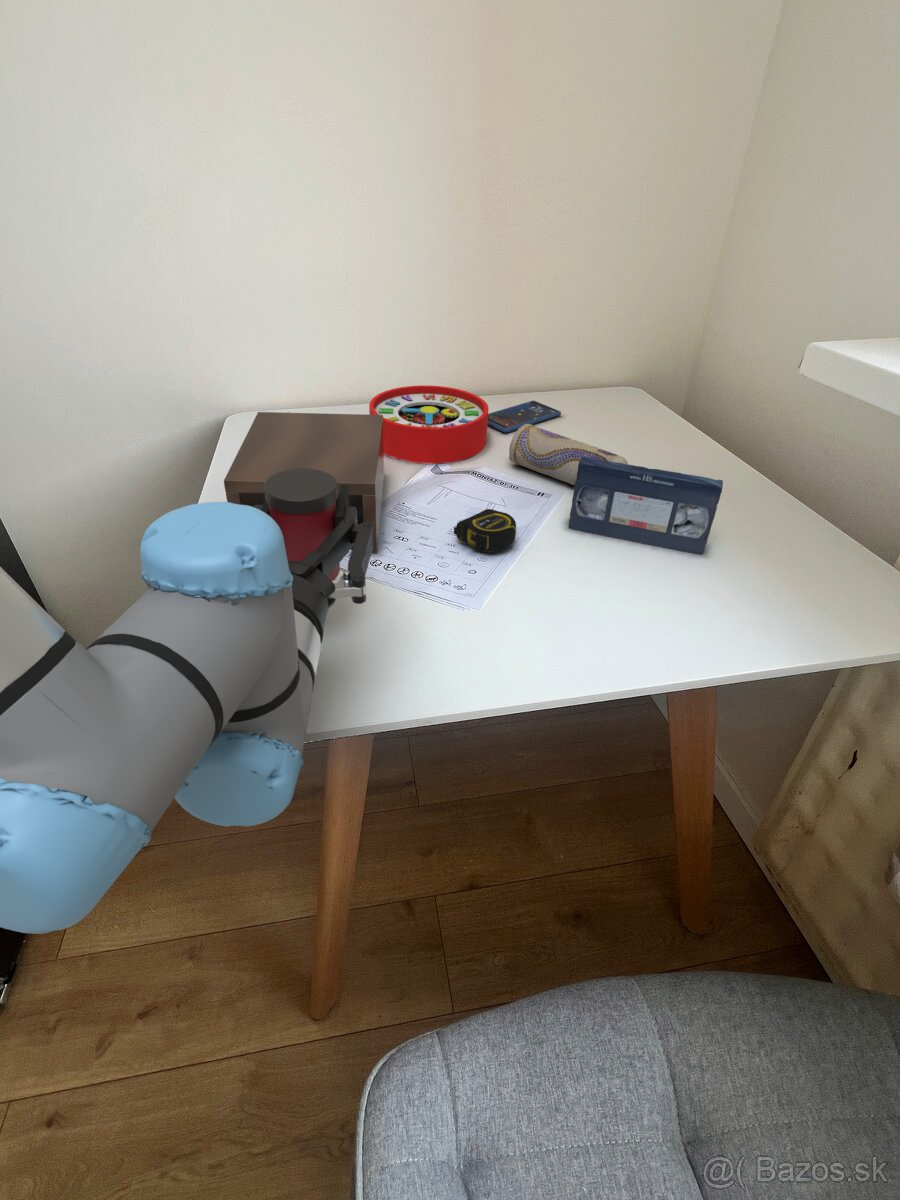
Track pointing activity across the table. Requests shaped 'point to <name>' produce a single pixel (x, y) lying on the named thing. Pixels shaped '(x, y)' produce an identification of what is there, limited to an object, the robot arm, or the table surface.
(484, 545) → the tape measure
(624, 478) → the vhs cassette tape
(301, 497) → the canister
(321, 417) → the shelf
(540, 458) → the decorative bottle
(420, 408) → the toy clock
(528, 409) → the smartphone
